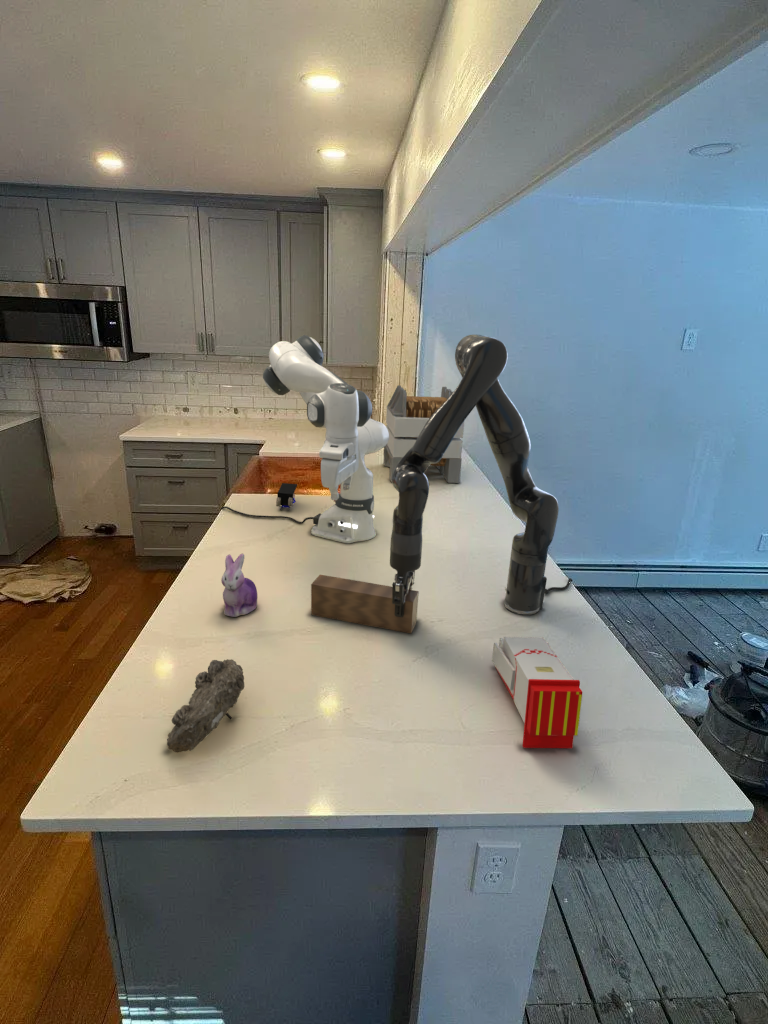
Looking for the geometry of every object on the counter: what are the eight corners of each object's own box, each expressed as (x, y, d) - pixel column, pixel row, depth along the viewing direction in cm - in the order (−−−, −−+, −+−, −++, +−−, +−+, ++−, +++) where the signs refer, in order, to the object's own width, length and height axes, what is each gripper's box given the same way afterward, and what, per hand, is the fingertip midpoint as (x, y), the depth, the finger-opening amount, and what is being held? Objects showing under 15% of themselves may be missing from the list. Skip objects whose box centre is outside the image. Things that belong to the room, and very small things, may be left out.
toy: (540, 620, 128) (592, 687, 99) (535, 674, 131) (584, 755, 102) (487, 619, 128) (523, 686, 99) (483, 673, 131) (517, 754, 101)
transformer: (382, 463, 289) (386, 382, 275) (445, 464, 293) (451, 384, 279) (390, 482, 257) (394, 392, 243) (460, 483, 261) (468, 394, 247)
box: (311, 614, 145) (311, 584, 142) (319, 604, 151) (319, 574, 148) (411, 633, 139) (413, 601, 136) (416, 621, 144) (418, 591, 141)
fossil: (192, 660, 117) (244, 628, 112) (224, 691, 120) (276, 661, 115) (142, 746, 98) (202, 712, 93) (182, 779, 101) (242, 748, 96)
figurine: (226, 621, 140) (223, 566, 135) (217, 603, 148) (214, 550, 143) (264, 614, 144) (262, 560, 139) (253, 596, 153) (251, 545, 148)
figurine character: (293, 515, 216) (298, 499, 229) (292, 497, 212) (297, 481, 226) (275, 515, 216) (281, 498, 229) (274, 497, 212) (280, 481, 226)
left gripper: (343, 437, 163) (343, 483, 168) (316, 452, 144) (316, 504, 149) (364, 439, 161) (363, 485, 166) (339, 455, 143) (339, 507, 148)
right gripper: (414, 562, 128) (410, 627, 133) (427, 539, 141) (423, 599, 146) (382, 557, 129) (379, 621, 135) (398, 535, 143) (395, 594, 148)
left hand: (340, 494), depth 157 cm, fingers open, 8 cm apart
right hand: (402, 609), depth 141 cm, fingers closed on box, 6 cm apart
